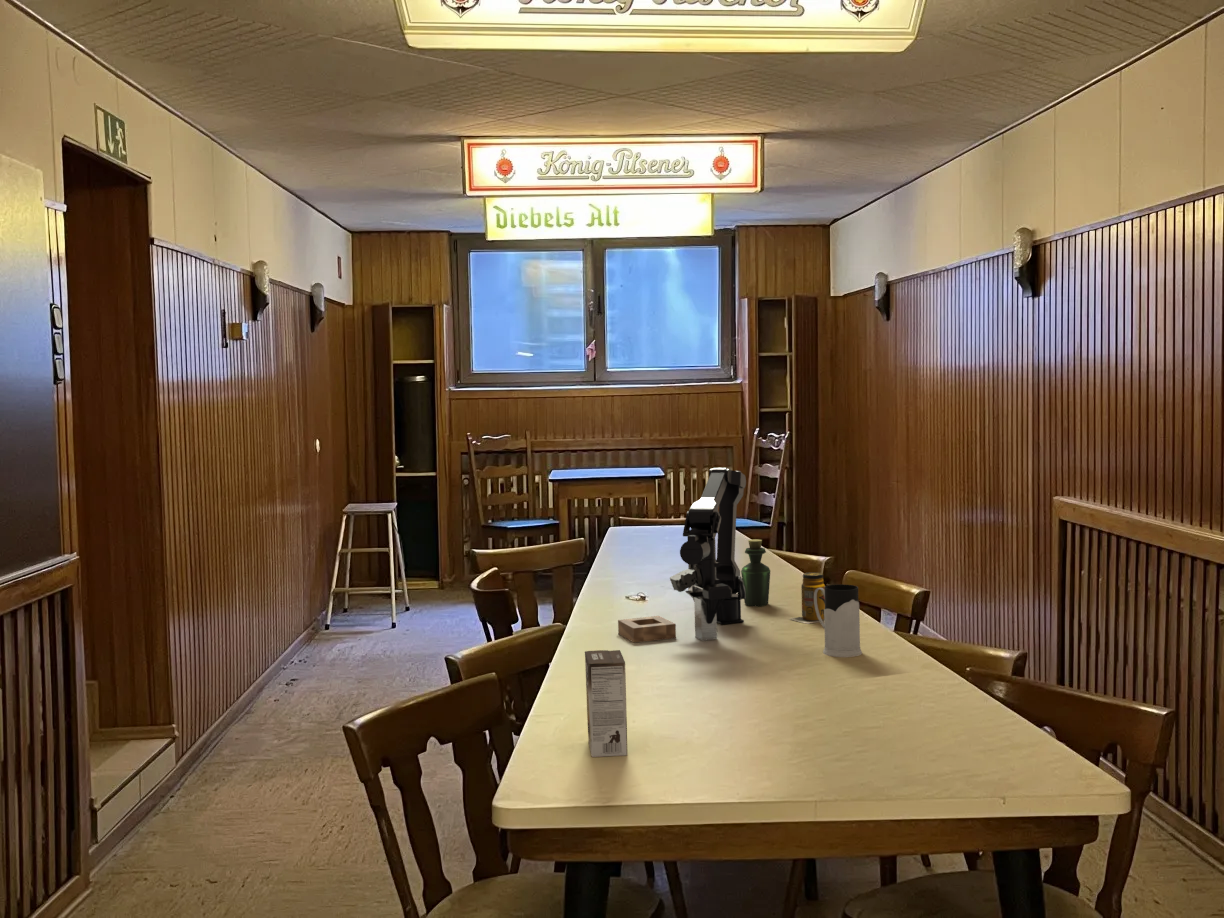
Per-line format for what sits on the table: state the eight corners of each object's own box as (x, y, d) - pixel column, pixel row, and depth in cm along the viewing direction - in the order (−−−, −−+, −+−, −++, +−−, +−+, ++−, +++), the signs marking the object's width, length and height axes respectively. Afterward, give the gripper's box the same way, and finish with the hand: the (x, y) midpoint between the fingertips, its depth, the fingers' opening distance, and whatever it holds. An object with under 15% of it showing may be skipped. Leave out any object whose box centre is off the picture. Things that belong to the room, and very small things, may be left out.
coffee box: (587, 741, 199) (584, 650, 198) (623, 739, 200) (620, 648, 199) (590, 757, 190) (587, 663, 189) (628, 755, 191) (625, 661, 190)
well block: (659, 629, 289) (658, 615, 288) (675, 637, 278) (675, 623, 278) (618, 633, 285) (618, 619, 285) (634, 642, 275) (633, 628, 274)
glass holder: (839, 659, 252) (838, 592, 251) (800, 646, 265) (799, 583, 264) (870, 653, 256) (869, 587, 255) (830, 642, 269) (829, 579, 268)
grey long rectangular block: (710, 635, 280) (709, 595, 279) (717, 638, 276) (716, 598, 275) (695, 637, 278) (694, 596, 278) (701, 640, 275) (700, 599, 274)
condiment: (832, 619, 294) (831, 573, 293) (808, 624, 289) (807, 577, 289) (813, 615, 300) (812, 570, 299) (789, 619, 296) (788, 574, 295)
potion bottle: (770, 601, 321) (769, 538, 320) (771, 607, 313) (770, 542, 312) (741, 601, 322) (740, 538, 321) (742, 607, 314) (740, 542, 313)
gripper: (658, 555, 282) (660, 618, 283) (689, 566, 264) (690, 632, 265) (699, 552, 286) (701, 613, 287) (732, 562, 268) (733, 627, 269)
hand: (705, 621), depth 277 cm, fingers closed on grey long rectangular block, 4 cm apart
